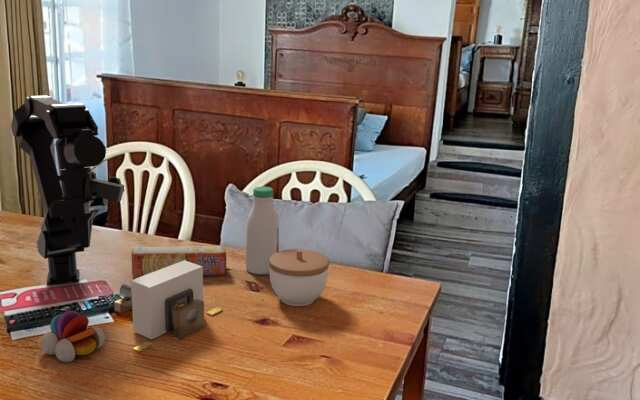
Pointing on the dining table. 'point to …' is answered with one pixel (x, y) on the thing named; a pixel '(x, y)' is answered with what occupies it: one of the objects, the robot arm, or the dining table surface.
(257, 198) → the milk bottle
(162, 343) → the dining table surface
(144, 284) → the sleeve
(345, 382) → the dining table surface
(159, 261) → the snack package
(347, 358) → the dining table surface
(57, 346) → the rainbow petal fan
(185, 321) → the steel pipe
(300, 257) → the lidded bowl
